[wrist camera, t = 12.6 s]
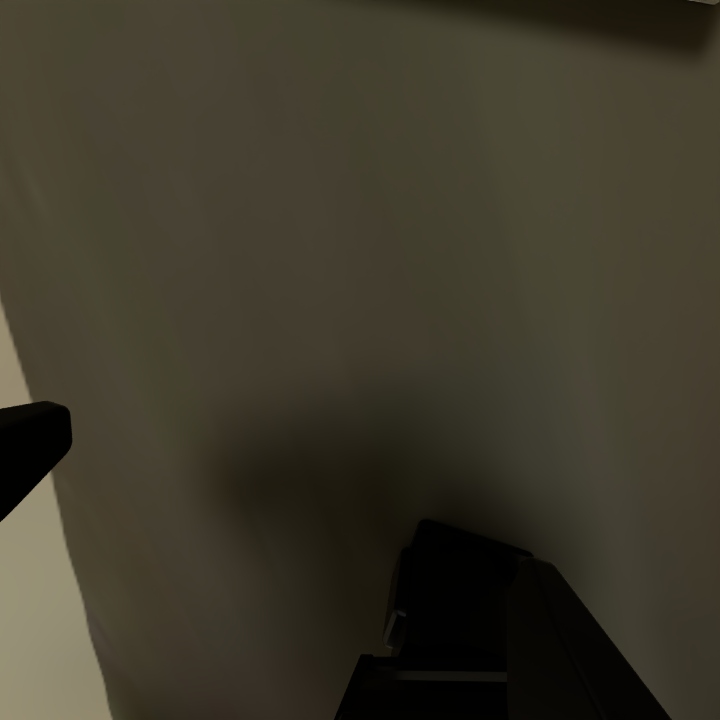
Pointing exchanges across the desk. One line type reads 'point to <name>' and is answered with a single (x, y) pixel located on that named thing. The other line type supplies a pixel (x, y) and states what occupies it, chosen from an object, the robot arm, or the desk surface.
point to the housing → (707, 1)
